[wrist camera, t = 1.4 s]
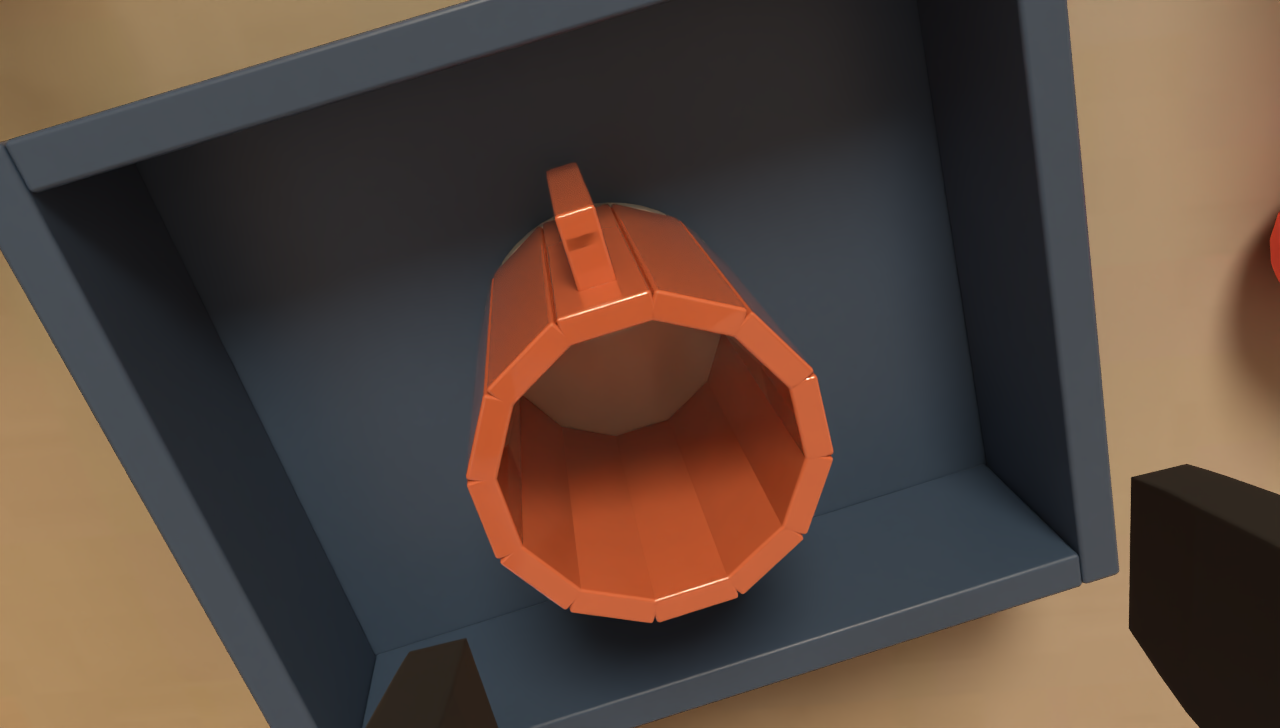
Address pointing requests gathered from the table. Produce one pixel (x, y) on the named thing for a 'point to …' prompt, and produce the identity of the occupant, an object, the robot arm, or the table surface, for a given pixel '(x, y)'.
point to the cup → (637, 416)
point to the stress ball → (1276, 247)
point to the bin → (455, 301)
